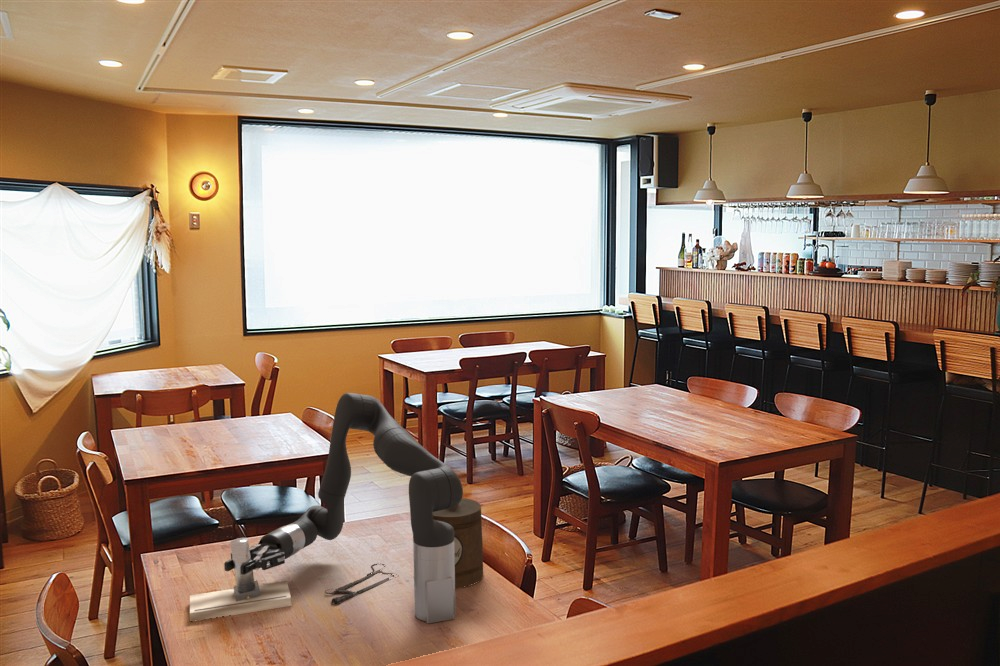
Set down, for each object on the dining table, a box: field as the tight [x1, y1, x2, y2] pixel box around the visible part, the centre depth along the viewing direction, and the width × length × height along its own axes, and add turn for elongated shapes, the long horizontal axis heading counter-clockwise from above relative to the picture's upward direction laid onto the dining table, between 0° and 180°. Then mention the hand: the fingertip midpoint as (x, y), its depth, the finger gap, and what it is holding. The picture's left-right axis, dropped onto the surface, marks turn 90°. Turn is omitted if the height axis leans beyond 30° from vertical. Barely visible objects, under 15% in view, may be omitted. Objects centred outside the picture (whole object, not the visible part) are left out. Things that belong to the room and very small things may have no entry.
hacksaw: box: [324, 563, 398, 605], centre depth 204 cm, size 24×10×2 cm, turn 143°
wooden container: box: [433, 497, 484, 589], centre depth 207 cm, size 15×15×22 cm
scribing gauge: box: [229, 537, 260, 601], centre depth 192 cm, size 7×6×13 cm
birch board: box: [189, 580, 292, 622], centre depth 193 cm, size 10×22×2 cm, turn 110°
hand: (233, 568), depth 190 cm, fingers closed on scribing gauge, 4 cm apart
